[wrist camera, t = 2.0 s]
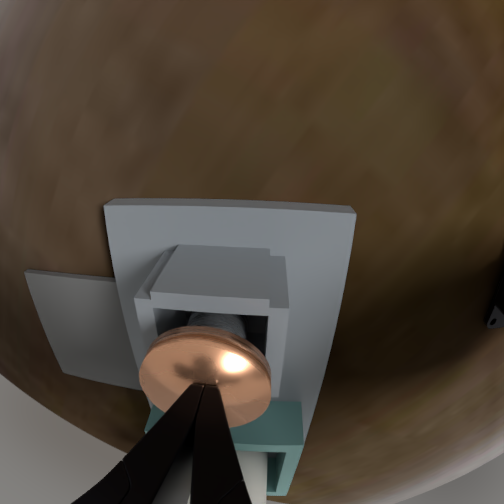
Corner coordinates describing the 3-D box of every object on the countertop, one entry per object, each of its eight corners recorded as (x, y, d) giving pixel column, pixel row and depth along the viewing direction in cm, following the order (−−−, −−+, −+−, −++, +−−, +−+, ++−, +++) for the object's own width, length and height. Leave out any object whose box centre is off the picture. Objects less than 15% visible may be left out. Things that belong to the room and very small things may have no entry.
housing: (350, 206, 12) (386, 254, 8) (295, 456, 21) (297, 504, 17) (114, 198, 13) (56, 239, 9) (171, 446, 21) (160, 492, 17)
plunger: (274, 260, 12) (275, 350, 8) (269, 339, 14) (266, 431, 9) (173, 255, 12) (126, 336, 8) (182, 333, 14) (152, 419, 10)
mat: (122, 278, 14) (119, 282, 14) (148, 386, 18) (147, 391, 17) (27, 269, 15) (23, 272, 14) (65, 368, 18) (63, 372, 18)
